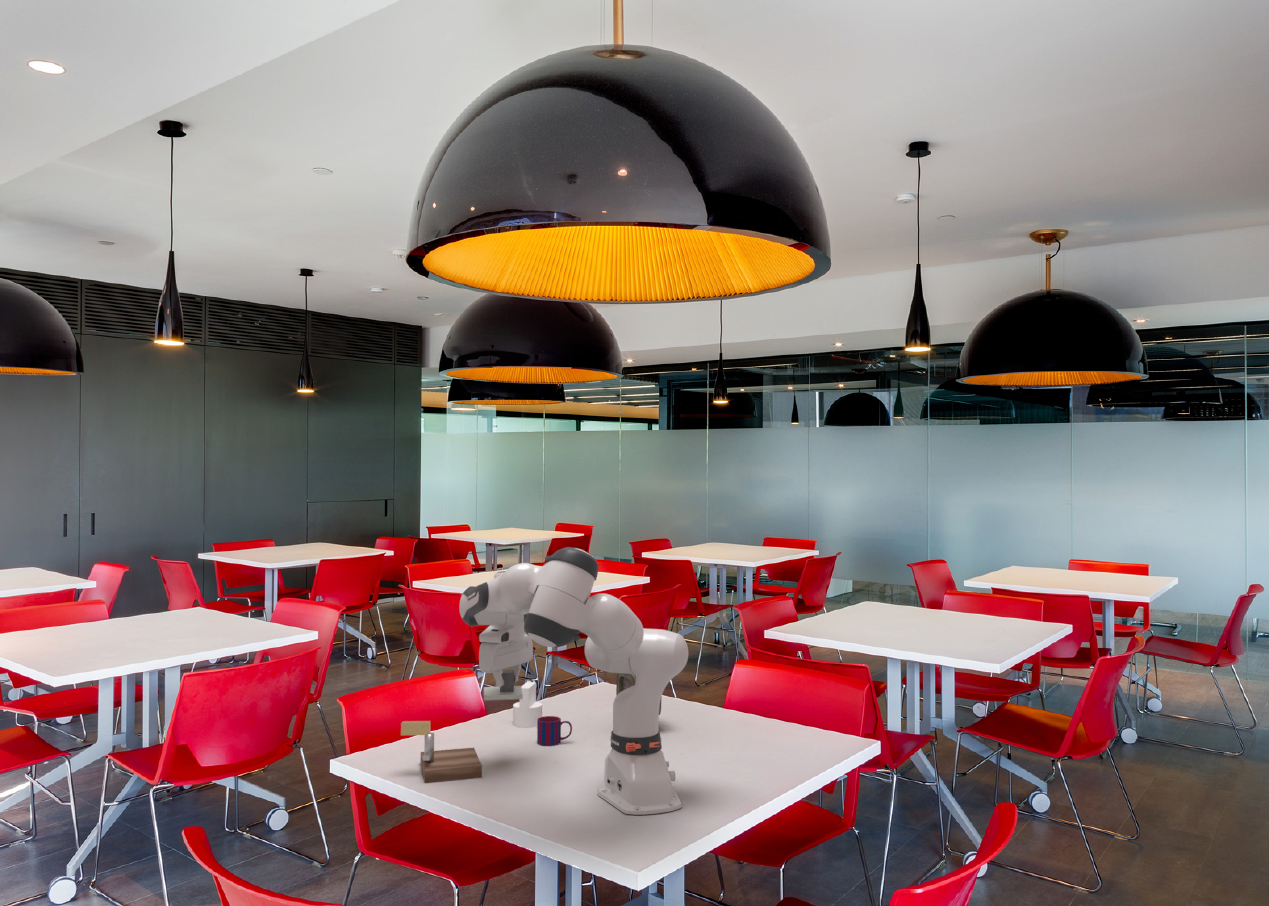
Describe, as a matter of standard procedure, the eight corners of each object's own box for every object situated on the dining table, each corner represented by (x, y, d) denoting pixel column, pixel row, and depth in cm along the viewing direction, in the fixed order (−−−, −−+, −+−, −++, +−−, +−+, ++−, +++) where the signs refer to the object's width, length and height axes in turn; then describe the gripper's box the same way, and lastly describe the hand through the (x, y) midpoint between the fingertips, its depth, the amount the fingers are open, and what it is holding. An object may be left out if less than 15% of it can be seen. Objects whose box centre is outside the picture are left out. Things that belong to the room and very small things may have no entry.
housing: (481, 777, 214) (481, 765, 214) (424, 783, 210) (424, 770, 210) (473, 758, 229) (473, 747, 229) (420, 763, 225) (420, 752, 225)
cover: (522, 698, 221) (522, 674, 221) (483, 700, 219) (484, 676, 220) (521, 690, 231) (521, 667, 231) (483, 691, 229) (484, 668, 230)
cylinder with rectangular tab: (517, 719, 269) (517, 681, 270) (545, 720, 268) (545, 682, 269) (509, 727, 261) (509, 687, 261) (537, 728, 259) (538, 688, 260)
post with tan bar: (397, 765, 212) (398, 726, 213) (402, 759, 218) (403, 721, 218) (431, 765, 213) (431, 726, 213) (434, 758, 218) (435, 720, 219)
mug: (541, 738, 248) (541, 715, 249) (574, 741, 246) (574, 717, 247) (534, 745, 242) (534, 721, 242) (567, 747, 240) (568, 723, 240)
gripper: (519, 625, 237) (519, 675, 236) (475, 636, 219) (474, 690, 218) (538, 627, 234) (538, 677, 233) (495, 638, 216) (494, 693, 215)
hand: (507, 684), depth 225 cm, fingers closed on cover, 5 cm apart
